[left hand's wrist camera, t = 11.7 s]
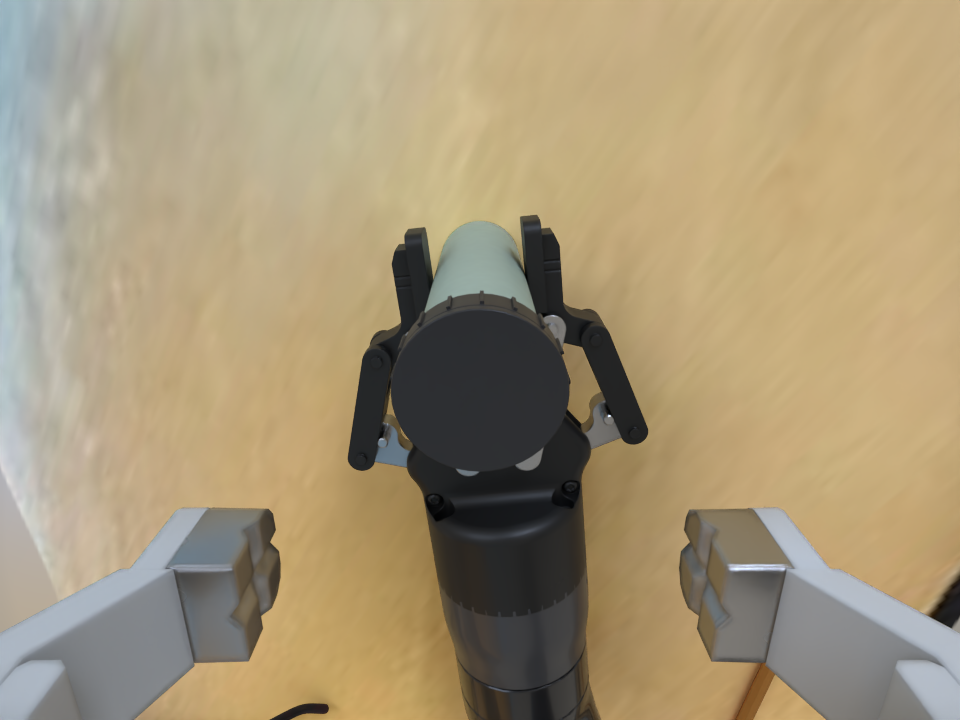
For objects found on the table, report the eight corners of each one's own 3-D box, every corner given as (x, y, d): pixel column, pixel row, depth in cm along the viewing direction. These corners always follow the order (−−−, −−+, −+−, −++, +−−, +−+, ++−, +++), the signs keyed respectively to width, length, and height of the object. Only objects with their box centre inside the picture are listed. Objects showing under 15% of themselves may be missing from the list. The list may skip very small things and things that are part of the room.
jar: (453, 306, 33) (429, 466, 18) (431, 232, 31) (386, 337, 16) (526, 287, 32) (567, 435, 17) (508, 211, 31) (536, 300, 16)
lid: (423, 462, 19) (418, 491, 17) (372, 314, 17) (362, 332, 16) (579, 426, 18) (587, 453, 17) (543, 270, 17) (549, 285, 15)
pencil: (805, 562, 38) (708, 769, 45) (820, 573, 37) (719, 782, 44) (813, 559, 39) (717, 764, 46) (829, 570, 38) (728, 777, 45)
